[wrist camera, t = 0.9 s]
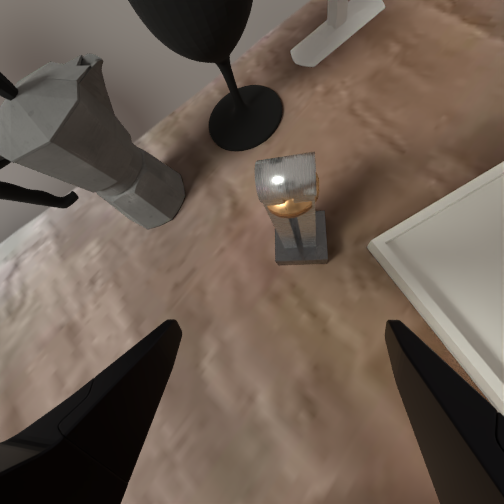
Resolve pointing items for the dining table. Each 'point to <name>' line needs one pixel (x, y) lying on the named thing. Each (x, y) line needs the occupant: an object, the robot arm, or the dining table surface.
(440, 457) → the robot arm
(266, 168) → the silver cylinder with base
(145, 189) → the coffeepot
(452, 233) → the ceramic tray
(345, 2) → the heart sculpture
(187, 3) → the wine glass
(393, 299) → the dining table surface
